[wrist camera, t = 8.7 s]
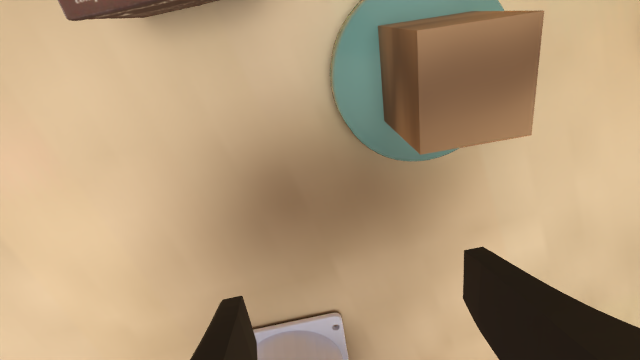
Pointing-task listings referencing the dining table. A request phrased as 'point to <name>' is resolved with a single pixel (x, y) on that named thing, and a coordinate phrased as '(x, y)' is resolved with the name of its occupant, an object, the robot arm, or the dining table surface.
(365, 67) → the coaster
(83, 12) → the box
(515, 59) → the walnut block
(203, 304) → the dining table surface
